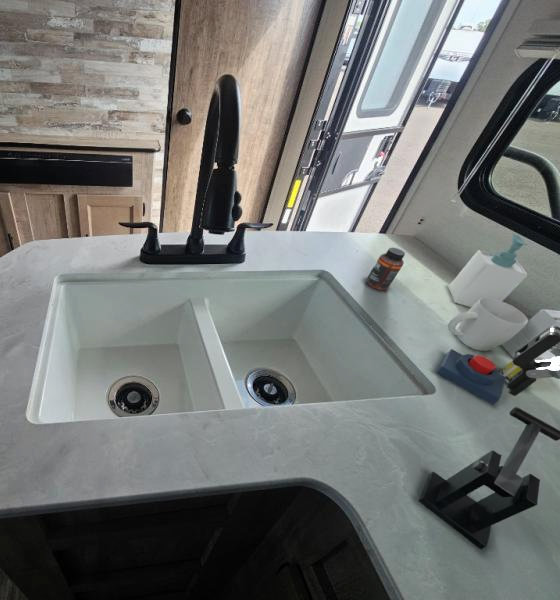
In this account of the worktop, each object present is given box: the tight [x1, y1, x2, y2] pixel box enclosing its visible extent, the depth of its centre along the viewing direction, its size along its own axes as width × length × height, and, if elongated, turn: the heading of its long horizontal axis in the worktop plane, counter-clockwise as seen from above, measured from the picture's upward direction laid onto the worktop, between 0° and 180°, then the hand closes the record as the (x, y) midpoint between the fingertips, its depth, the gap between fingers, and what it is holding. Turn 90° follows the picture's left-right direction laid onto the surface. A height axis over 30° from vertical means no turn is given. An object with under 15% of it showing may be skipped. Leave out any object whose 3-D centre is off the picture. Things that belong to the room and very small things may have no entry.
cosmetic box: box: [501, 308, 560, 358], centre depth 74 cm, size 6×4×12 cm
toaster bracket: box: [418, 450, 541, 550], centre depth 45 cm, size 6×8×12 cm
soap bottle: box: [448, 232, 529, 308], centre depth 87 cm, size 9×9×19 cm
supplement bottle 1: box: [365, 247, 406, 291], centre depth 91 cm, size 6×6×11 cm
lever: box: [484, 406, 560, 497], centre depth 44 cm, size 12×5×2 cm, turn 132°
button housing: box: [435, 348, 506, 405], centre depth 69 cm, size 8×10×4 cm
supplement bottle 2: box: [499, 351, 557, 384], centre depth 68 cm, size 5×5×8 cm
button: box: [469, 354, 496, 374], centre depth 67 cm, size 4×4×2 cm
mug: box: [447, 298, 529, 352], centre depth 76 cm, size 13×9×10 cm
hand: (551, 412), depth 44 cm, fingers open, 8 cm apart
